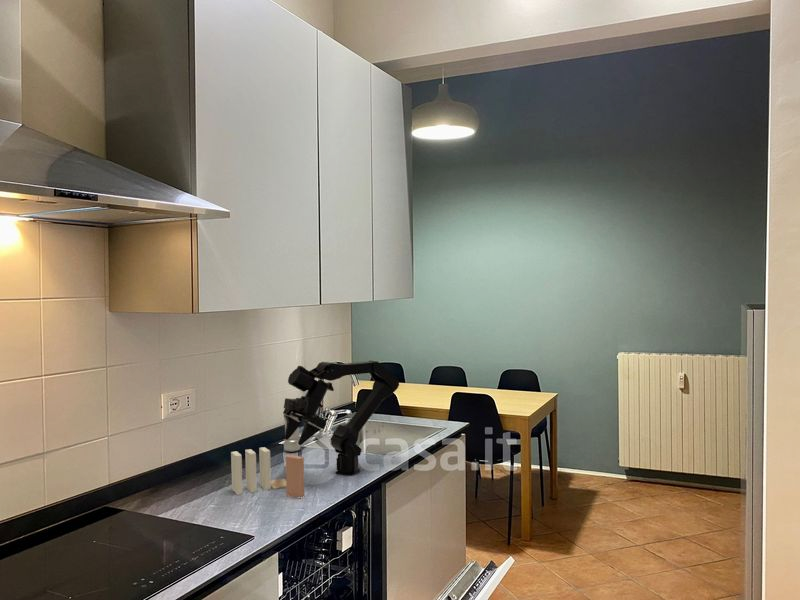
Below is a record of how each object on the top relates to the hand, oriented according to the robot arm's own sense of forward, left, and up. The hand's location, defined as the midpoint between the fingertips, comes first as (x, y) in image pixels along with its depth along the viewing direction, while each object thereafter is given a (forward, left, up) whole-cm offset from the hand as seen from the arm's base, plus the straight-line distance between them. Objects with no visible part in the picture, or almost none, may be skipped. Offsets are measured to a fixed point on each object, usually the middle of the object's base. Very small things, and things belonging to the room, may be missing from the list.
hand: (292, 442), depth 203 cm
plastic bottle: (+21, -35, -14) cm, 43 cm away
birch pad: (+5, +1, -14) cm, 14 cm away
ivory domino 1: (+13, +12, -14) cm, 22 cm away
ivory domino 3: (+7, +5, -14) cm, 16 cm away
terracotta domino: (-6, +10, -14) cm, 18 cm away
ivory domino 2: (+10, +8, -14) cm, 19 cm away
